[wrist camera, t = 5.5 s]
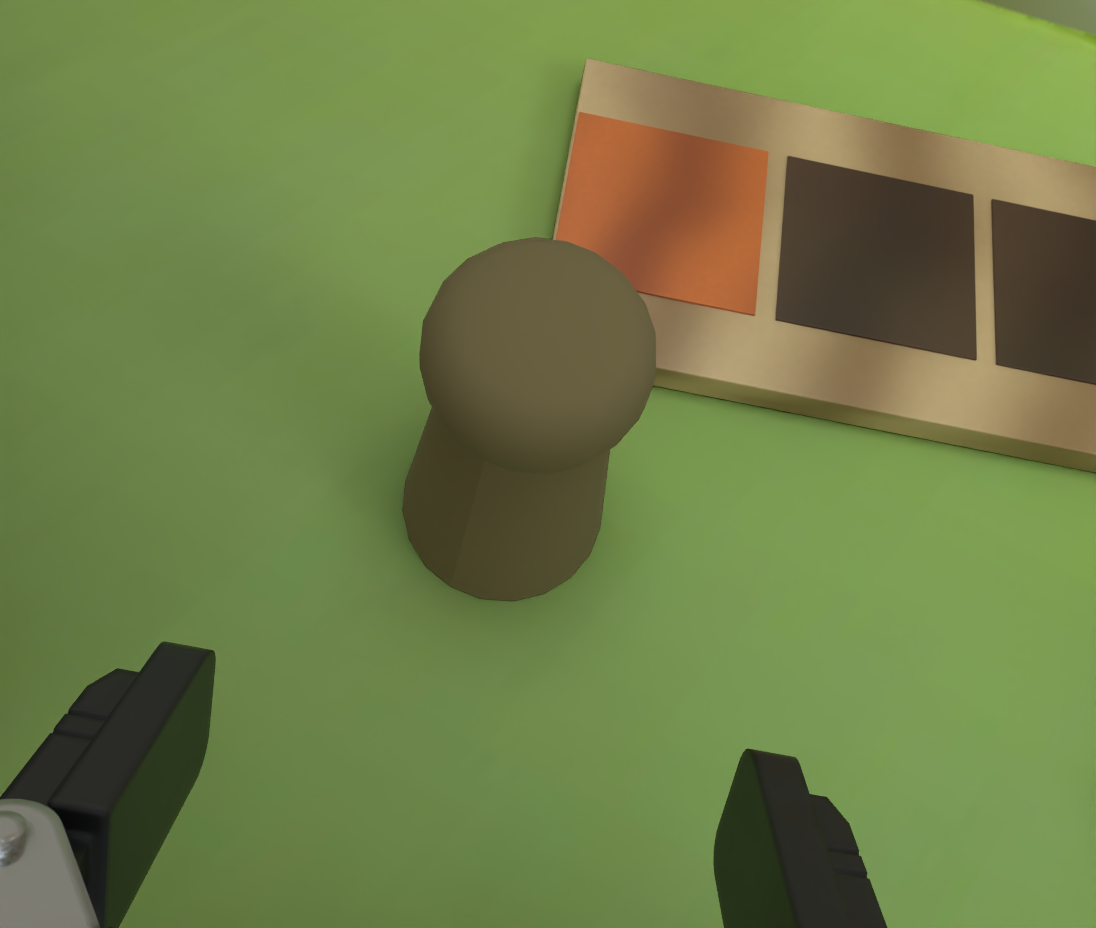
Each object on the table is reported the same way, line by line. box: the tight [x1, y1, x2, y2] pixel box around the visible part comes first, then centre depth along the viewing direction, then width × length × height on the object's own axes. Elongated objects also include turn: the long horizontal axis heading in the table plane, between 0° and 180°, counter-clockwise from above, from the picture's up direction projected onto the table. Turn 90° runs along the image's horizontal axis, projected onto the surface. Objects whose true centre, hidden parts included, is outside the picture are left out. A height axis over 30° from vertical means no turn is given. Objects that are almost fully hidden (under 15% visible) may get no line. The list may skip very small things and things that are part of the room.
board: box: [552, 59, 1096, 473], centre depth 35 cm, size 22×12×1 cm, turn 82°
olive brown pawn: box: [402, 237, 656, 601], centre depth 26 cm, size 6×6×11 cm
